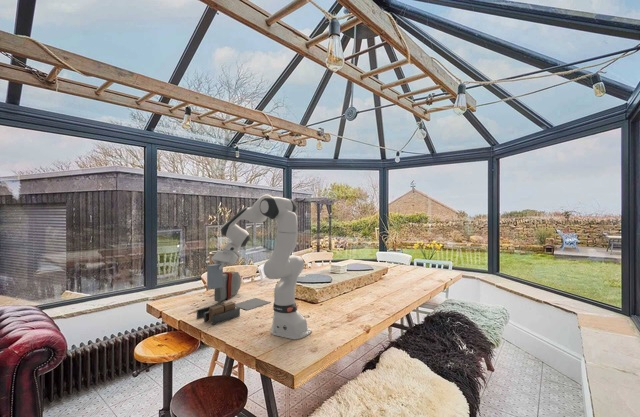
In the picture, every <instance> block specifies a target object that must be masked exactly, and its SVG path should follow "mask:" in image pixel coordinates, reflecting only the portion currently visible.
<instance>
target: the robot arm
mask: <svg viewBox="0 0 640 417" xmlns="http://www.w3.org/2000/svg"><path fill="white" fill-rule="evenodd" d="M296 210H297V204H296V202H295V200H293V199H292V198H289V197H288V198H287V197H281V196H272V195H270V194H267V193H266V194H263V195H261V196H260V197H259V198H258V199H257V200H256V201H255V202H254V203H253V204H252V205H251V206H249V207H247V206H245V207H243V208H242V209H240V210H239V211H238V212H237V213H236V214H235V215H234V216H232V218H230V219H229V220H228V221H226V222H225V223H224V224H223V225H222V226H221V228H220V232H221V235H222V236H224V237H225V238H228V240H229V241H228V242H227V243H226V244H225V245H224V247H223V248H222V249H220V250H218V251H216V252H215V254H214V255H212V256H211V261H212V262H213V264H218V263H220V264H222V265H220V266H219V267H218V269H219V270H221V269H222V268H223V269H224V267H226V266H233V265H235V264H236V262H237V261H238V260H239V258H241V256H242V254H241V252H240V249H241V248H243V247H246V245H247V244H248V242H250V241H251V236H250V234H249V232H248V231H247V230H246V229H245V228H242V227H241V226H239V225H238V224H237V223H238V222H239V221H241V220H245V221H248V222H251V223H254V224H261V223H264V222H265V221H266V220H267V219H268V218H269V219H270V220H274V219H275V220H276V221H277V226H276V236H275V239H276V240H275V246H274V248H273V251H272V253H271V256H270V257H269V258H268V260H266V262H264V264H263V270H262V271H263V273H264V276H265V277H266V278H267V279H268V280H279V282H278V283H277V284H276V285H275V287H274V291H273V293H274V295H273V298H274V301H273V306H272V309H273V316H272V324H271V328H270V335H273V336H278V337H282V338H286V339H290V340H299V339H303V338H305V337H307V336H309V335H310V334H311V333H312V332H313V330H312V329H313V328H310V327H308V322H307V319H306V318H305V317H304V316H303V315H302V313H301V312H300V311H299V310H298V307H299V304H297V302H296V301H295V300H296V286H297V283H298V279H299V276H300V275H301V273H302V271H303V270H304V269H305V262H304V259H303V257H302V256H300V255H296V254H295V255H294V254H292V252H293V251H295V249H296V247H297V243H298V231H299V230H298V226H299V225H298V216H297V215H298V214H296ZM291 254H292V255H291Z"/></svg>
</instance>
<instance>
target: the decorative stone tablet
mask: <svg viewBox="0 0 640 417" xmlns="http://www.w3.org/2000/svg"><path fill="white" fill-rule="evenodd" d="M241 284H242V278H241V275H240V273H239V271H233V270H232V271H231V270H229V271H223V287H220V288H216V289H214V290H213V291H214V296H213V297H214V298H213V299H214V302H223V301H228V300H230V299H231V298H232V297H234V296H236V295H237V294H238V292H239V291H240V289H241V286H242V285H241Z"/></svg>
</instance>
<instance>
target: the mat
mask: <svg viewBox="0 0 640 417" xmlns="http://www.w3.org/2000/svg"><path fill="white" fill-rule="evenodd" d="M270 303H272V302H271V301H268V300H265V299H261V298H257V297H253V298H250V299H247V300H243V301H241V302H237V303H235V308H238V307H239V308H240V310H241V309H242V310H245V311H249V310H253V309H256V308H260V307H262V306H264V305H268V304H270Z"/></svg>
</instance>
